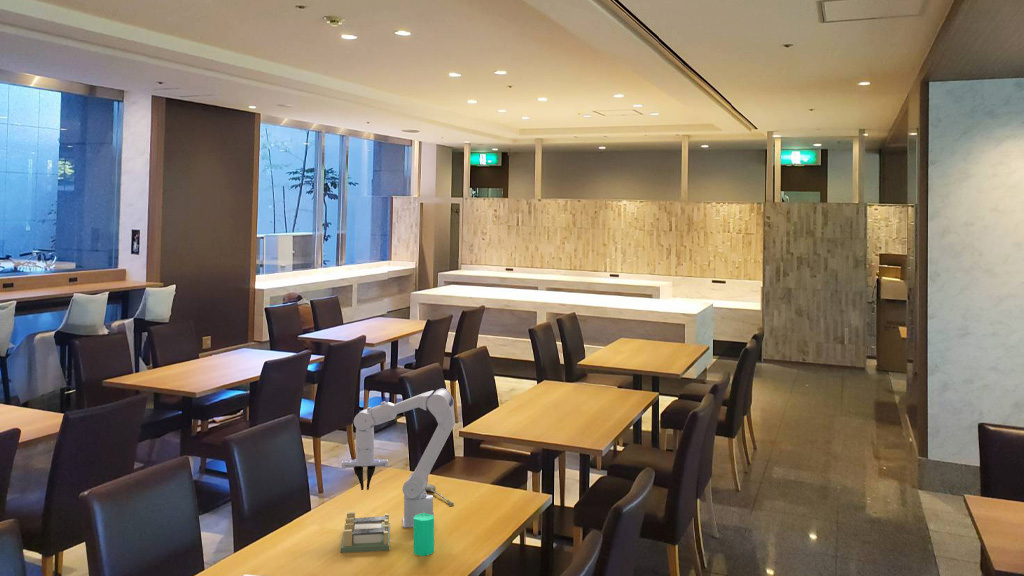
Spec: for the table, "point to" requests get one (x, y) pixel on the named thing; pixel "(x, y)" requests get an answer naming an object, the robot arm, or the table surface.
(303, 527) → the table surface
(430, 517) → the candle
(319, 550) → the table surface
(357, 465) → the robot arm
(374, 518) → the strap far
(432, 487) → the soupspoon
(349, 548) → the board
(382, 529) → the strap near
